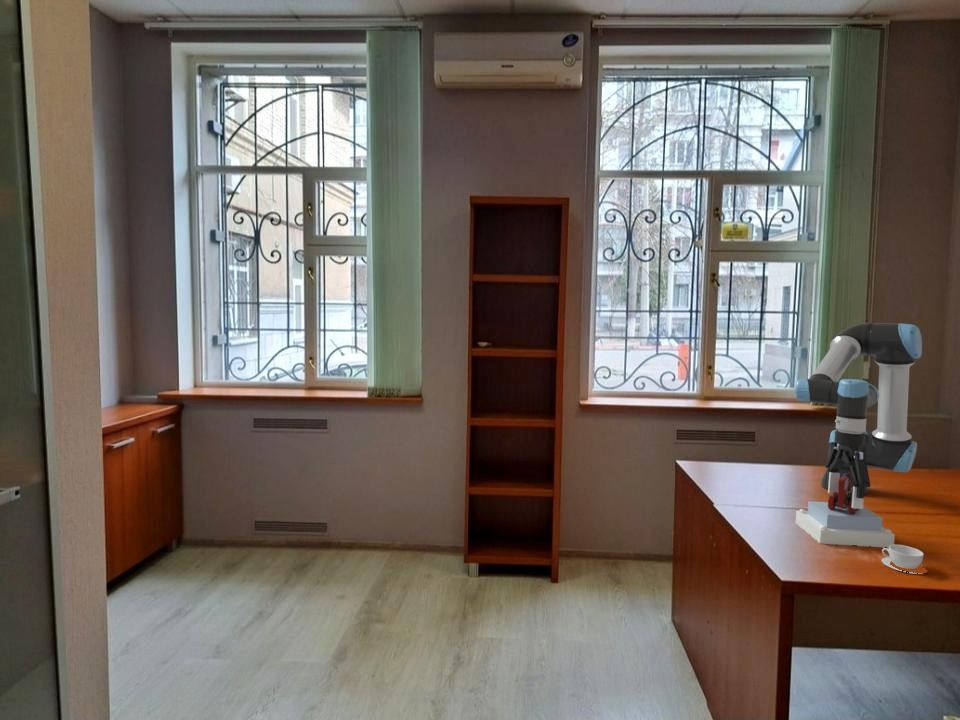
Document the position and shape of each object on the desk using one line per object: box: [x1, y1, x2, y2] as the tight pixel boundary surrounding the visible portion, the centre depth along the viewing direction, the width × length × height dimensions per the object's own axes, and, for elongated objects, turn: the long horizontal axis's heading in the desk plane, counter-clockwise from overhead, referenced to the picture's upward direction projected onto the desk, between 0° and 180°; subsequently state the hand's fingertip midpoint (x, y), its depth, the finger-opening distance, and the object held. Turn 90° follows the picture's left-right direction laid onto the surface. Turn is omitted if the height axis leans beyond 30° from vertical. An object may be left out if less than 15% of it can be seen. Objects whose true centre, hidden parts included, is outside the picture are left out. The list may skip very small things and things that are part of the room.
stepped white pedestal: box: [795, 500, 896, 549], centre depth 170 cm, size 20×16×8 cm
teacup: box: [881, 544, 925, 575], centre depth 149 cm, size 10×10×5 cm
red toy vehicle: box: [827, 473, 859, 514], centre depth 169 cm, size 7×12×10 cm, turn 137°
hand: (844, 500), depth 169 cm, fingers open, 13 cm apart
